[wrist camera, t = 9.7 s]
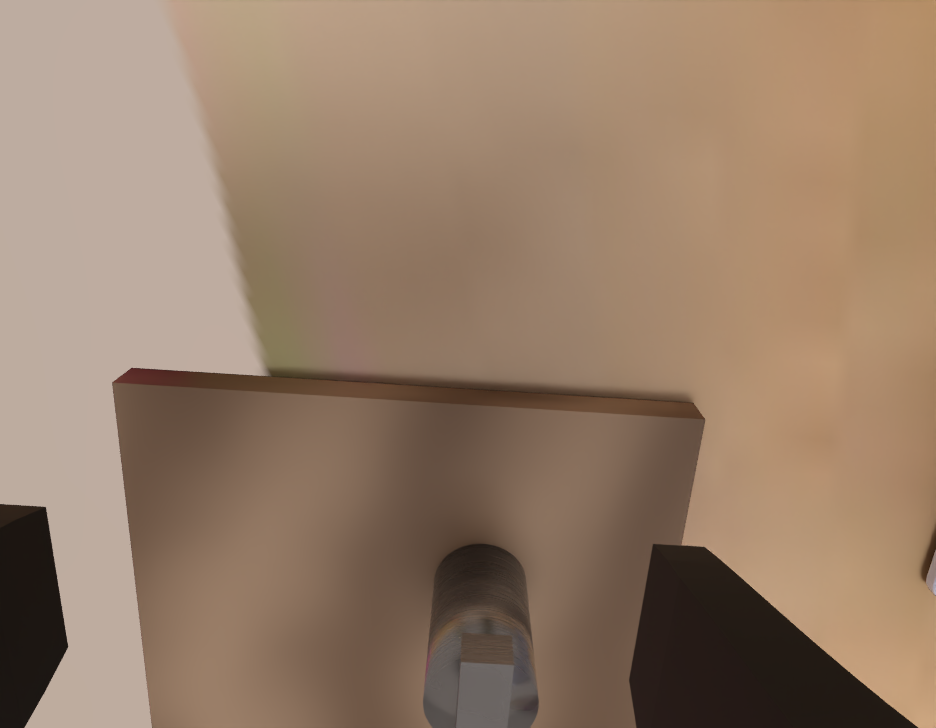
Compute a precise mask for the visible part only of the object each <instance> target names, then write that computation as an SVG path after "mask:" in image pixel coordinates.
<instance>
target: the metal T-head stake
mask: <svg viewBox="0 0 936 728" xmlns="http://www.w3.org/2000/svg"><path fill="white" fill-rule="evenodd" d="M538 708H539V699H538V689H537V680H536V670H535V660H534V650H533V641H532V631H531V621H530V611H529V602H528V592H527V582H526V575H525V572H524V569H523V567H522V565H521V564H520V562H519V561H518V560H517V559H516V557H514V556H513V555H512V554H511V553H509V552H508V551H506V550H504V549H502V548H500V547H497V546H494V545H490V544H471V545H466V546H463V547H460V548H458V549H456V550H454V551H452V552H451V553H449V554H448V555H447V556H446V557H445V558H444V559H443V560H442V561H441V563H440V564H439V566H438V568H437V570H436V573H435V577H434V586H433V597H432V608H431V619H430V630H429V641H428V651H427V662H426V673H425V684H424V695H423V709H424V713H425V716H426V719H427V720H428V722H429V724H430V725H431V727H432V728H530V727H531V725H532V724H533V722H534V721H535V719H536V716H537V713H538Z"/></svg>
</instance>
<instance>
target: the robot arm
mask: <svg viewBox="0 0 936 728" xmlns="http://www.w3.org/2000/svg"><path fill="white" fill-rule="evenodd" d="M926 584H927V586H928V588H929V589H930V590H931V591H932V592H933V594H934V595H935V596H936V550H935V553H934V556H933V559H932V562H931V565H930V568H929V571H928V574H927V579H926ZM67 648H68V643H67V637H66V631H65V625H64V618H63V612H62V606H61V599H60V593H59V587H58V581H57V574H56V568H55V562H54V556H53V549H52V543H51V537H50V531H49V524H48V518H47V512H46V507H37V506H21V505H4V504H0V728H24V727H25V726H26V724H27V722H28V720H29V719H30V717H31V715H32V713H33V712H34V710H35V708H36V706H37V705H38V703H39V701H40V699H41V697H42V696H43V694H44V692H45V690H46V688H47V687H48V685H49V683H50V681H51V679H52V677H53V675H54V673H55V671H56V669H57V667H58V665H59V663H60V662H61V659H62V658H63V656H64V654H65V652H66V650H67ZM629 683H630V690H631V696H632V703H633V709H634V715H635V722H636V728H918V727H917V726H915V725H914V724H913V723H912V722H910V721H909V720H908V719H906V718H905V717H904V716H903V715H901V714H900V713H899V712H897V711H896V710H895V709H894V708H892V707H891V706H890V705H888V704H887V703H886V702H885V701H884V700H882V699H881V698H880V697H879V696H877V695H876V694H875V693H874V692H873V691H871V690H870V689H869V688H868V687H867V686H865V685H864V684H863V683H862V682H860V681H859V680H858V679H857V678H856V677H854V676H853V675H852V674H851V673H850V672H848V671H847V670H846V669H845V668H844V667H842V666H841V665H840V664H839V663H838V662H836V661H835V660H834V659H833V658H832V657H831V656H829V655H828V654H827V653H826V652H825V651H824V650H822V649H821V648H820V647H819V646H818V645H817V644H815V643H814V642H813V641H812V640H811V639H810V638H809V637H807V636H806V635H805V634H804V633H803V632H802V631H801V630H799V629H798V628H797V627H796V626H795V625H794V624H793V623H791V622H790V621H789V620H788V619H787V618H786V617H785V616H783V615H782V614H781V613H780V612H779V611H778V610H777V609H776V608H774V607H773V606H772V605H771V604H770V603H769V602H768V601H767V600H765V599H764V598H763V597H762V596H761V595H760V594H759V593H758V592H756V591H755V590H754V589H753V588H752V587H751V586H750V585H749V584H747V583H746V582H745V581H744V580H743V579H742V578H741V577H739V576H738V575H737V574H736V573H735V572H734V571H733V570H731V569H730V568H729V567H728V566H727V565H726V564H725V563H723V562H722V561H721V560H720V559H719V558H717V557H716V556H715V555H714V554H712V553H711V552H710V551H709V550H707V549H706V548H705V547H697V546H681V545H664V544H653V546H652V552H651V558H650V563H649V569H648V575H647V580H646V586H645V592H644V597H643V603H642V609H641V615H640V620H639V626H638V632H637V637H636V643H635V649H634V654H633V660H632V666H631V671H630V677H629Z"/></svg>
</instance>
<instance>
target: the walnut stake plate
mask: <svg viewBox="0 0 936 728" xmlns="http://www.w3.org/2000/svg"><path fill="white" fill-rule="evenodd" d="M112 385H113V393H114V402H115V411H116V419H117V427H118V437H119V445H120V454H121V462H122V471H123V480H124V489H125V497H126V506H127V515H128V523H129V532H130V541H131V548H132V558H133V566H134V575H135V584H136V592H137V601H138V610H139V619H140V626H141V636H142V645H143V653H144V662H145V670H146V679H147V688H148V696H149V705H150V714H151V723H152V728H432V727H431V725H430V724H429V722H428V720H427V719H426V716H425V713H424V709H423V695H424V684H425V673H426V662H427V651H428V641H429V630H430V619H431V608H432V597H433V586H434V577H435V573H436V570H437V568H438V566H439V564H440V563H441V561H442V560H443V559H444V558H445V557H446V556H447V555H448V554H449V553H451V552H452V551H454V550H456V549H458V548H460V547H463V546H466V545H471V544H490V545H494V546H497V547H500V548H502V549H504V550H506V551H508V552H509V553H511V554H512V555H513V556H514V557H516V559H517V560H518V561H519V562H520V564H521V565H522V567H523V569H524V572H525V575H526V582H527V592H528V602H529V611H530V621H531V631H532V641H533V650H534V660H535V670H536V680H537V689H538V699H539V708H538V713H537V716H536V719H535V721H534V722H533V724H532V725H531V727H530V728H636V722H635V715H634V709H633V703H632V696H631V690H630V683H629V677H630V671H631V666H632V660H633V654H634V649H635V643H636V637H637V632H638V626H639V620H640V615H641V609H642V603H643V597H644V592H645V586H646V580H647V575H648V569H649V563H650V558H651V552H652V546H653V544H664V545H681V544H682V538H683V533H684V528H685V523H686V517H687V512H688V507H689V502H690V497H691V491H692V486H693V481H694V476H695V471H696V465H697V460H698V455H699V450H700V445H701V439H702V434H703V429H704V424H705V418H704V417H703V416H702V414H701V413H700V412H699V410H698V409H697V407H696V406H695V405H694V403H685V402H669V401H653V400H637V399H621V398H605V397H589V396H573V395H557V394H541V393H525V392H509V391H493V390H477V389H461V388H445V387H429V386H413V385H397V384H381V383H365V382H349V381H333V380H317V379H301V378H285V377H269V376H253V375H236V374H220V373H204V372H188V371H172V370H156V369H140V368H131V369H130V370H128V371H127V372H126V373H124V374H123V375H122V376H120V377H119V378H118V379H117V380H115V381H114V382H113V383H112Z"/></svg>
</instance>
